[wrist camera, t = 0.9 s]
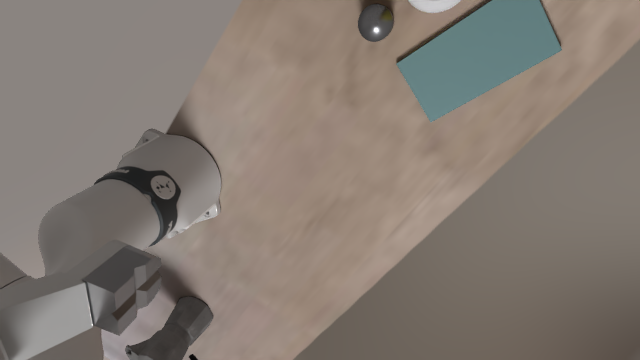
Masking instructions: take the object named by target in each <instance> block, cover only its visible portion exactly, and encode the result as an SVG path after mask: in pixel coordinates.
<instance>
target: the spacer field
mask: <svg viewBox="0 0 640 360" xmlns="http://www.w3.org/2000/svg"><path fill="white" fill-rule="evenodd" d="M393 24H394V18H393V14H392V12H391V11H390V10H389V9H388V8H387V7H386V6H383V5H380V4H373V5H370V6H368V7H366V8H365V9H364V10H363V11H362V13H361V14H360V17H359V20H358V28H359V31H360V33H361V35H362V36H363V37H364V38H365V39H366V40H368V41H373V42H376V41H380V40H382V39H384V38H385V37H386V36H388V35H389V33H390V32H391V30H392V28H393Z"/></svg>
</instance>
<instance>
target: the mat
mask: <svg viewBox="0 0 640 360" xmlns="http://www.w3.org/2000/svg"><path fill="white" fill-rule="evenodd" d="M561 50H562V49H561V47H560V44H559V42H558V40H557V38H556V36H555V34H554V31H553V29H552V27H551V25H550V23H549V20H548V18H547V16H546V14H545V12H544V9H543V7H542V5H541V3H540V1H539V0H491V1H490V2H488V3H487V4H485V5H484V6H482V7H481V8H479V9H478V10H476V11H475V12H473V13H472V14H470V15H469V16H467V17H466V18H464V19H463V20H461V21H460V22H458V23H457V24H455V25H454V26H452V27H451V28H449V29H448V30H446V31H445V32H443V33H441V34H440V35H438V36H437V37H435V38H434V39H432V40H431V41H429V42H428V43H426V44H425V45H423V46H422V47H420V48H419V49H417V50H416V51H414V52H413V53H411V54H410V55H408V56H407V57H405V58H404V59H402V60H401V61H399V62H398V63H396V64H397V66H398V68H399V69H400V71H401V73H402V74H403V76H404V78H405V79H406V81H407V83H408V85H409V86H410V88H411V90H412V91H413V93H414V95H415V96H416V98H417V100H418V101H419V103H420V105H421V107H422V108H423V110H424V112H425V113H426V115H427V117H428V118H429V120H430V122H432V121H434V120H436V119H438V118H440V117H441V116H443V115H445V114H447V113H449V112H450V111H452V110H454V109H456V108H458V107H460V106H461V105H463V104H465V103H467V102H469V101H470V100H472V99H474V98H476V97H478V96H480V95H481V94H483V93H485V92H487V91H489V90H490V89H492V88H494V87H496V86H498V85H500V84H501V83H503V82H505V81H507V80H509V79H510V78H512V77H514V76H516V75H518V74H520V73H521V72H523V71H525V70H527V69H529V68H530V67H532V66H534V65H536V64H538V63H540V62H541V61H543V60H545V59H547V58H549V57H550V56H552V55H554V54H556V53H558V52H560V51H561Z"/></svg>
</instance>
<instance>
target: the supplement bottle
mask: <svg viewBox="0 0 640 360" xmlns="http://www.w3.org/2000/svg"><path fill="white" fill-rule="evenodd" d="M408 1H409V2H410V4H411V5H412V6H413V7H414V8H416V9H417V10H419V11H422V12H425V13H438V12H442V11H445V10H448V9H450V8H452V7H453V6H455V5H456V4H458V3H459V2H460V1H461V0H408Z"/></svg>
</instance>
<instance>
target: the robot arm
mask: <svg viewBox="0 0 640 360" xmlns="http://www.w3.org/2000/svg"><path fill="white" fill-rule="evenodd" d="M122 157H123V159H122V160H121V161H120V163H119V165H118V167H117V169H116V170H114V171H111V172H109V173H107V174H105V175H104V176H103V177H102V178H100V179H98V180H97V181H96V182H95V183H94V185H93V186H91V187H89V188H87V189H85V190H84V191H82V192H80V193H78V194H76V195H74V196H72V197H71V198H68V199H67V200H65V201H63V202H61V203H59V204H57V205H55V206H54V207H52V208H51V209H50V210H49V211H48V212H47V213H46V215H45V216H44V217H43V219H42V221H41V224H40V228H39V234H38V240H39V248H40V252H41V255H42V258H43V261H44V265H45V277H42V278H38V279H34V278H32V277H31V276H27V275H26V274H25V273H24V272H23V271H22V270H20V269H19V268H18V267H17V266H15V265H14V264H13V263H12V262H11V261H10V260H9V259H7V258H6V257H5V256H3V254H2V253H0V360H103V356H104V351H103V345H102V338H101V329H104V330H106V331H109V332H111V333H114V334H116V335H119V336H120V334H121V333H122V332H123V331H124V330H125V329H126V328H127V327H128V326H129V325H130V324H131V323H132V322H133V321H134V320H135V318H136V317H137V310H138V309H140V308H143V307H145V306H148V304H149V303H150V302H151V301H152V300H153V299H154V298H155V296H156V294H157V292H158V291H159V289H160V285H161V275H160V274H159V272H158V269H159V268H160V267H161V258H159V257H156V256H154V255H152V254H149V253H147V252H145V251H144V250H145V249H146V248H147V247H149V246H152V245H155V244H156V243H157V242H159V241H160V240H162V239H163V238H165V237H167V238H171V237H173V236H175V235H176V234H177V233H181V232H183V231H185V230H186V229H187V228H189V227H190V226H191V225H193V224H194V223H197V222H200V221H203V220H206V219H210V218H213V217H216V216H217V215H218V214H219V213H220V204H219V194H220V190H221V178H220V173H219V170H218V168H217V165H216V163H215V162H214V160H213V158H212V157H211V156H210V154H209V153H208V152H207V151H206V150H205V149H204V148H203V147H202V146H200V145H199V144H198V143H196V142H195V141H193V140H191V139H189V138H186V137H183V136H179V135H167V134H164V133H162V132H160V131H157V130H155V129H149V130H147V131H146V132H145V133H144V134H143V136H142V137H141V139H140V140H139V142H138V144H137V145H136V147H135V148H134V149H133V150H131V151H129V152H127V153H125V154H124V155H123V156H122Z"/></svg>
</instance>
